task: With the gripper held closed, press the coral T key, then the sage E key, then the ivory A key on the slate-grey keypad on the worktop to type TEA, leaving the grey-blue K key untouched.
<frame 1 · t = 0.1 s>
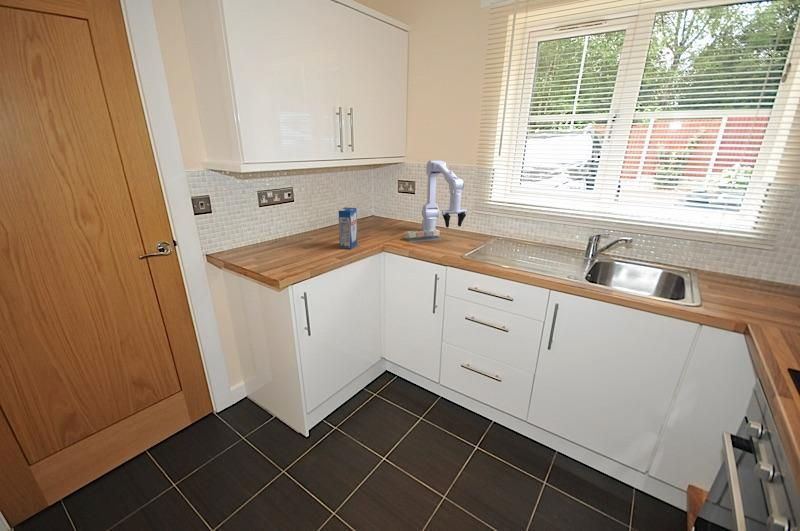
hand: (453, 226, 188), 10 cm above the worktop, fingers open, 7 cm apart
key E: (411, 234, 194), point 4 cm above the worktop, slide at 0.0 cm
key K: (427, 232, 198), point 4 cm above the worktop, slide at 0.0 cm
key T: (419, 233, 196), point 4 cm above the worktop, slide at 0.0 cm
key A: (434, 232, 200), point 4 cm above the worktop, slide at 0.0 cm
keypad board: (423, 240, 198), on the worktop
milk carton: (348, 246, 183), on the worktop
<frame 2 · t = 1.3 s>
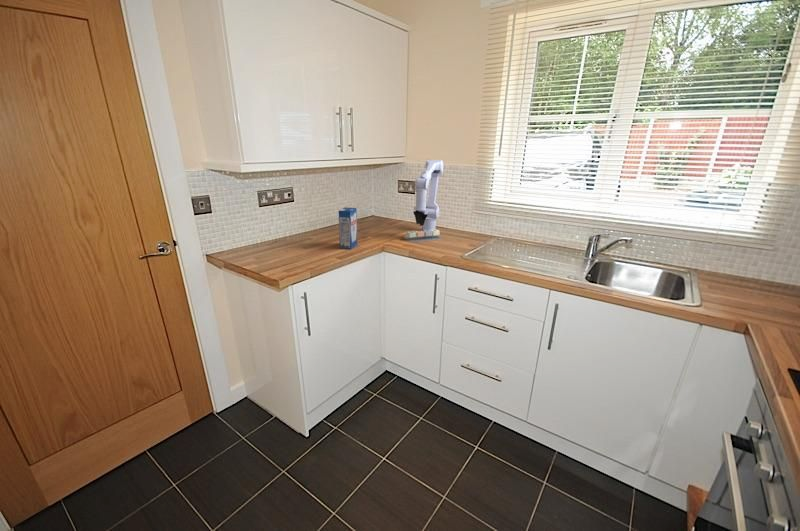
hand: (419, 224, 194), 9 cm above the worktop, fingers open, 4 cm apart
nothing on the worktop moved.
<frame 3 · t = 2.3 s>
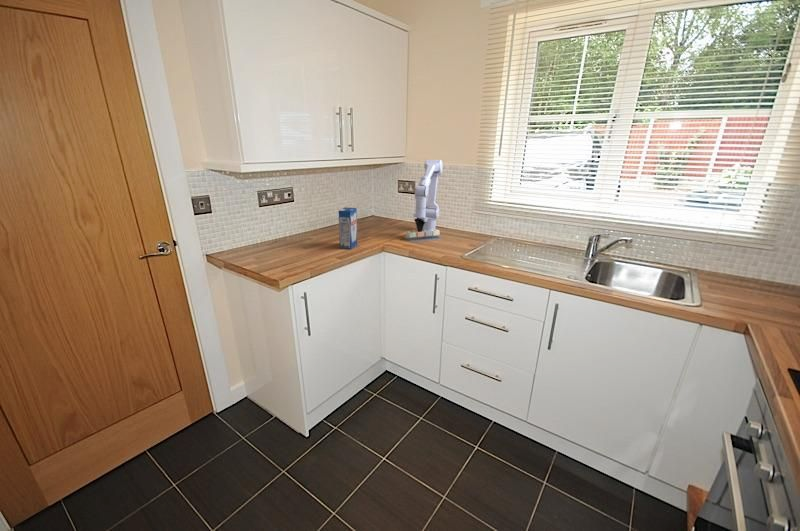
hand: (419, 231, 196), 5 cm above the worktop, fingers closed, pressing on key T
key T: (419, 233, 196), point 4 cm above the worktop, slide at 0.0 cm, touching gripper
everything else where it was.
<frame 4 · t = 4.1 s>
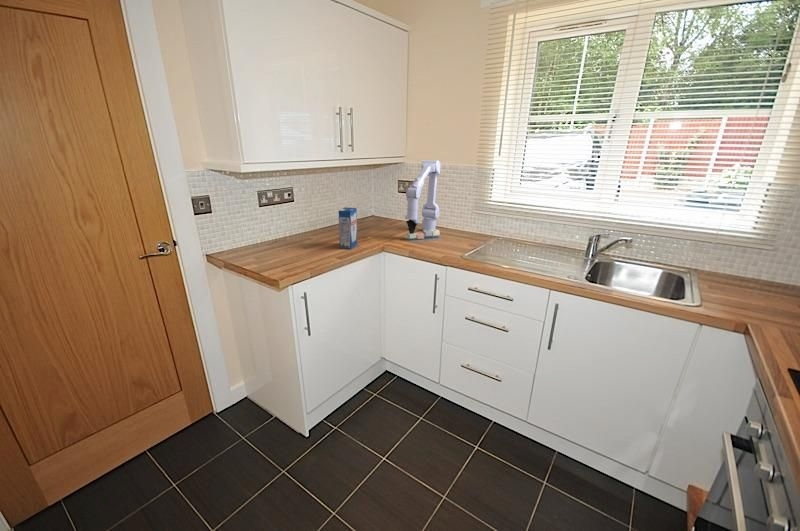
hand: (411, 233, 194), 5 cm above the worktop, fingers closed, pressing on key E
key E: (411, 235, 194), point 3 cm above the worktop, slide at 0.7 cm, touching gripper
key T: (419, 235, 197), point 3 cm above the worktop, slide at 1.3 cm
everything else where it was.
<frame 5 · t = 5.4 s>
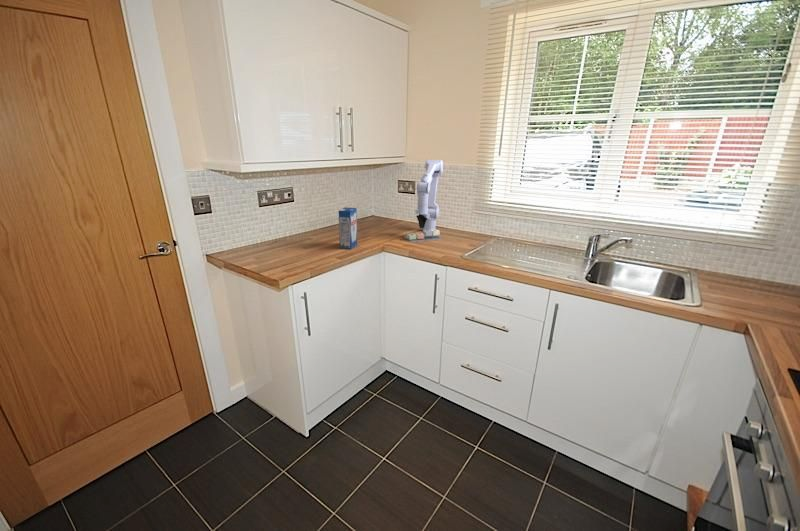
hand: (421, 228, 196), 7 cm above the worktop, fingers closed
key E: (411, 236, 195), point 3 cm above the worktop, slide at 1.3 cm
everything else where it was.
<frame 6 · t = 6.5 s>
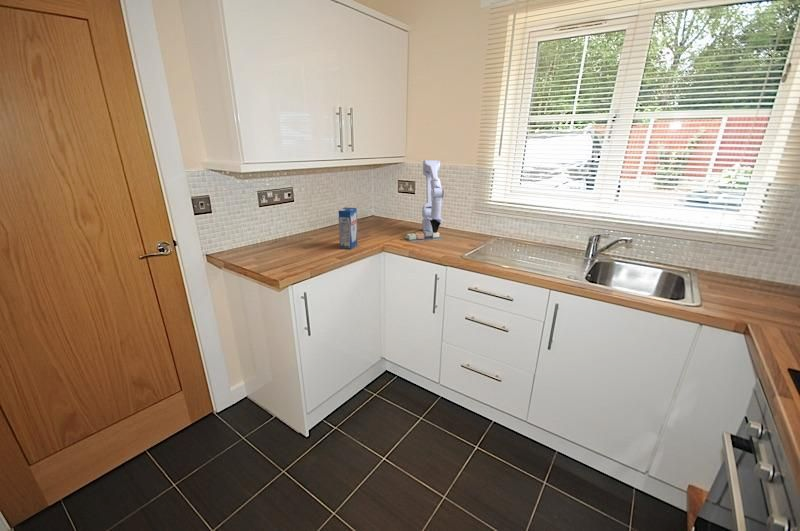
hand: (434, 232, 200), 4 cm above the worktop, fingers closed, pressing on key A
key A: (434, 234, 200), point 3 cm above the worktop, slide at 1.3 cm, touching gripper
everything else where it was.
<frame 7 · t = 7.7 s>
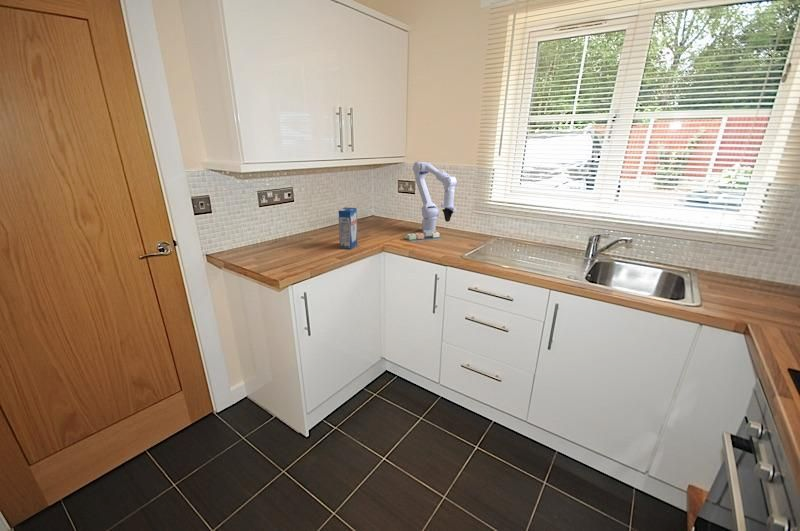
hand: (447, 221, 202), 10 cm above the worktop, fingers closed
key A: (434, 234, 200), point 3 cm above the worktop, slide at 1.3 cm
everything else where it was.
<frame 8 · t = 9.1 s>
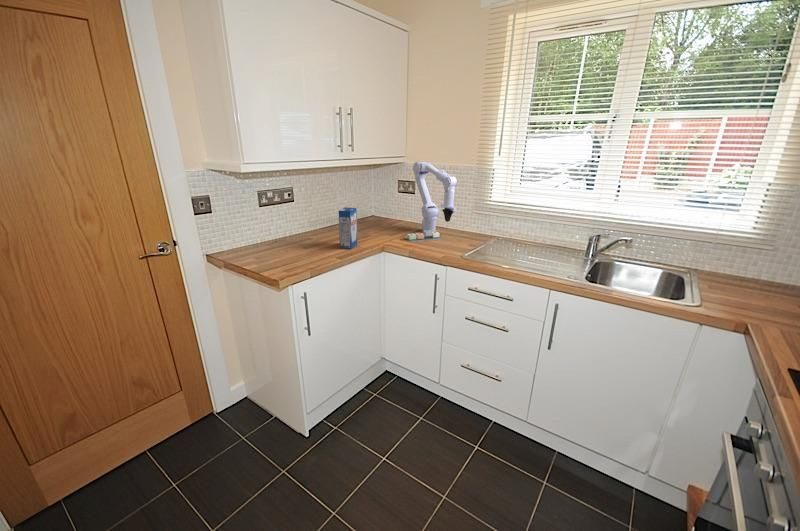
hand: (447, 221, 202), 10 cm above the worktop, fingers closed
nothing on the worktop moved.
at the end: key T slide at 1.3 cm; key E slide at 1.3 cm; key A slide at 1.3 cm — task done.
